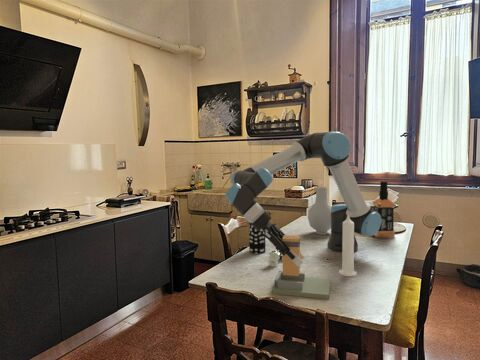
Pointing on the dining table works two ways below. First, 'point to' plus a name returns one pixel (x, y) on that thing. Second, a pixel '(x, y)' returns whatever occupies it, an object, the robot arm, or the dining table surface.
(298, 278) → the mounting board
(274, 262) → the valve
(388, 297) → the dining table surface
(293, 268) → the orange box
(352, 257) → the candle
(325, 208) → the vase
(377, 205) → the whiskey bottle
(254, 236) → the white-spotted black cylinder
